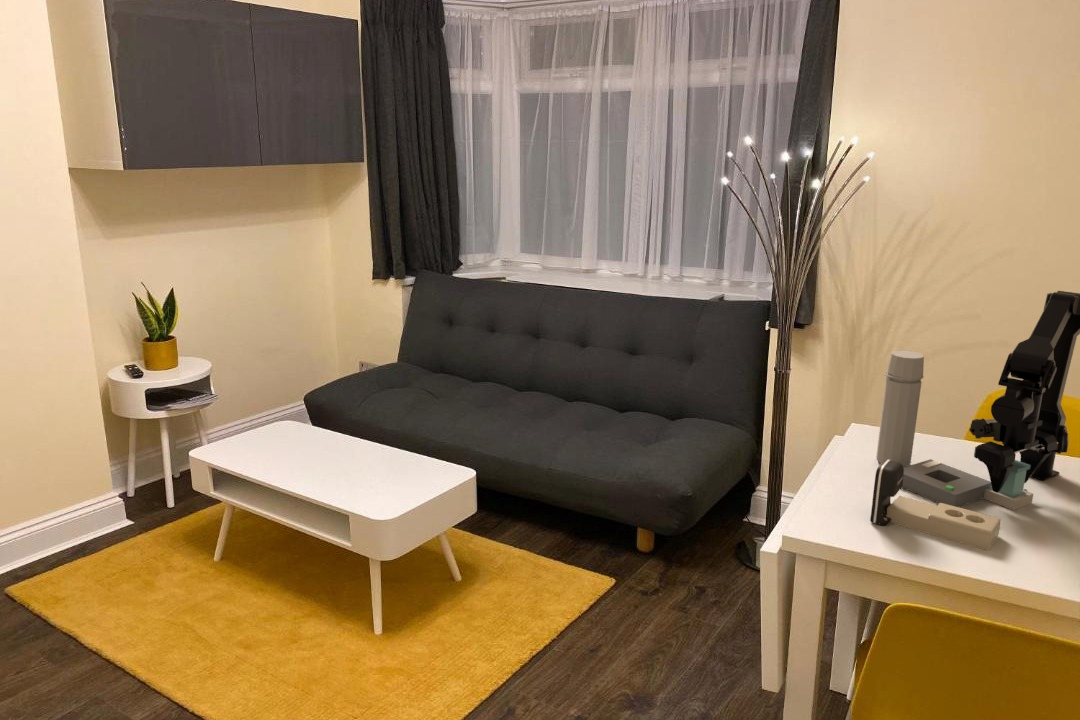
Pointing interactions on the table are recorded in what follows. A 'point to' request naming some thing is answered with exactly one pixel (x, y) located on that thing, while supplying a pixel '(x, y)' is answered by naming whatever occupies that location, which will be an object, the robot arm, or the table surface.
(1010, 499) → the beige frame with handle
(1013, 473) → the plug
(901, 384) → the water bottle
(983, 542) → the electrical outlet
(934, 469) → the port panel
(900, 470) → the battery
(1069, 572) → the table surface
